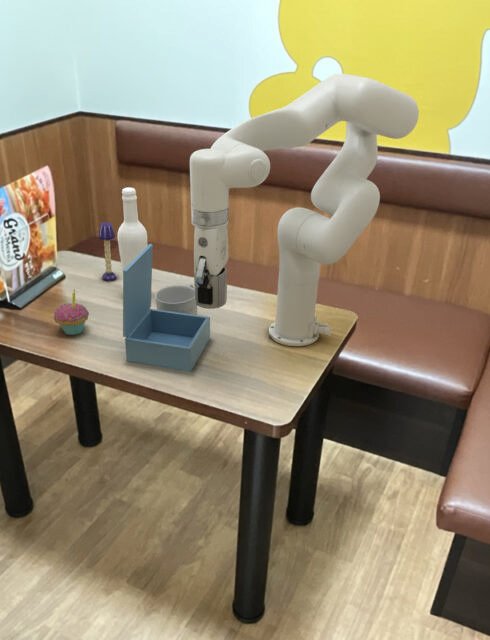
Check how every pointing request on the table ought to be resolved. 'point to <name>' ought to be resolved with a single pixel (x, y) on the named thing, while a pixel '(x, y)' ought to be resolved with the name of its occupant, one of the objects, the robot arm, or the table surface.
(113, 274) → the toy lamp
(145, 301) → the lid
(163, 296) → the teacup
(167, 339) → the box
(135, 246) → the bottle
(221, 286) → the steel cup
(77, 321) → the cupcake
